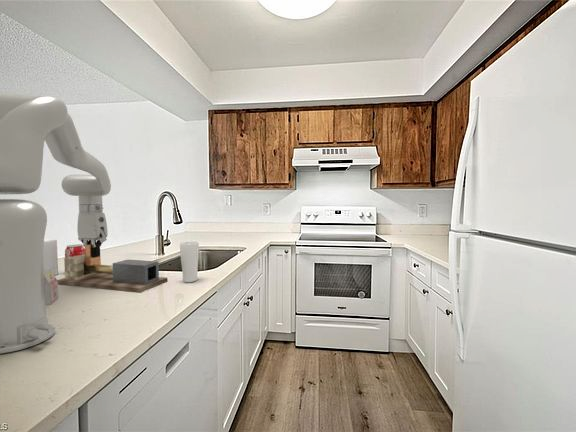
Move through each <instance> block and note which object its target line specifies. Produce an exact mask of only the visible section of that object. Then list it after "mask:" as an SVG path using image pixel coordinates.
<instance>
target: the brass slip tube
mask: <svg viewBox="0 0 576 432" xmlns="http://www.w3.org/2000/svg"><path fill="white" fill-rule="evenodd" d="M91 247H93V244H86V245H85V247H84V248H85V254H86V264H85V263H84V272H92V273H104V274H113V264H111V265H108V264H101V265H98V264H100V259H101V256H100V257H95V258H92V249H91Z"/></svg>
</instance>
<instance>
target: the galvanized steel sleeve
mask: <svg viewBox="0 0 576 432" xmlns="http://www.w3.org/2000/svg"><path fill="white" fill-rule="evenodd" d="M159 263H160V262H159V261H158V260H157V261H156V260H140V259H124V260H121V261H117V262H113V263H112V266H113V282H116V283H127V284H138V285H147V284H150V283H152V282H155V281H157V280H159V277H160V273H159V272H160V269H159V267H160V265H159Z"/></svg>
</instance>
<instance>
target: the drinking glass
mask: <svg viewBox="0 0 576 432" xmlns="http://www.w3.org/2000/svg"><path fill="white" fill-rule="evenodd" d="M179 248H180V255H179V256H180V262H181V269H182V270H181V271H182V282H184V283H194V282H197V280H198V268H199V254H200V252H199V250H200V248H199V242H198V241H184V242H183V241H182V242H180V247H179Z"/></svg>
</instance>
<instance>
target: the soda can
mask: <svg viewBox="0 0 576 432" xmlns="http://www.w3.org/2000/svg"><path fill="white" fill-rule="evenodd" d="M84 254H85V247H84V246H83V243H81V244H80V243H79V244H69V245H68V244H67V245H66V248H65V249H64V258H68V257H74V256H79V255H84Z"/></svg>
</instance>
